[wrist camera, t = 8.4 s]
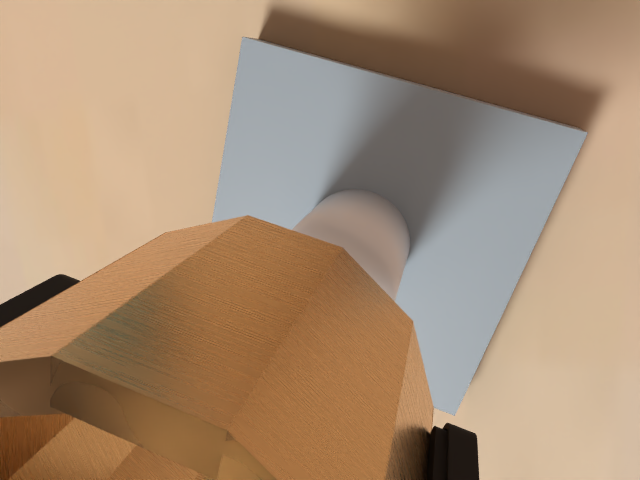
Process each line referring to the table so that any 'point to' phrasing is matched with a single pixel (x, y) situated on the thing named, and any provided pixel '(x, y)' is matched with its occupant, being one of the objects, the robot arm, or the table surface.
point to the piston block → (398, 189)
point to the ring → (217, 367)
